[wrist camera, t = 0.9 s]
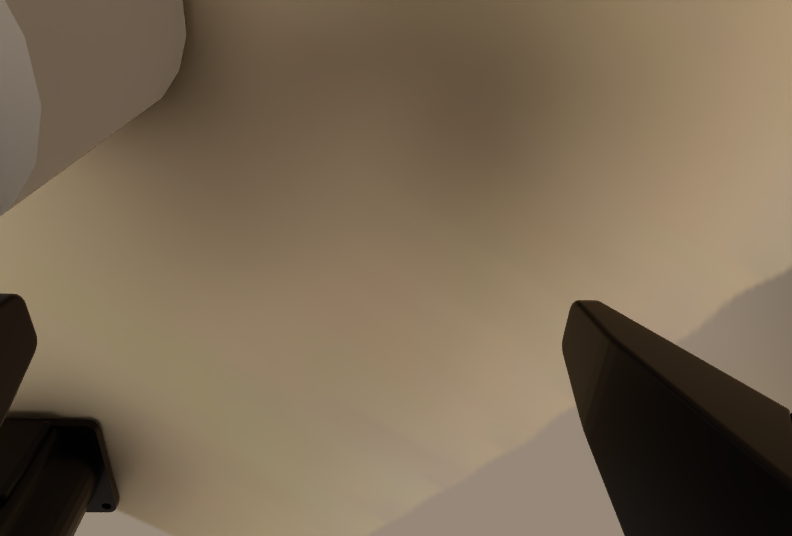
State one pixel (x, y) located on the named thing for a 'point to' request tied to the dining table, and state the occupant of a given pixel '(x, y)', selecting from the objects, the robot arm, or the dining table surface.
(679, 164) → the dining table surface
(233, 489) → the dining table surface
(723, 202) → the dining table surface
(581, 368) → the robot arm
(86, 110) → the can
